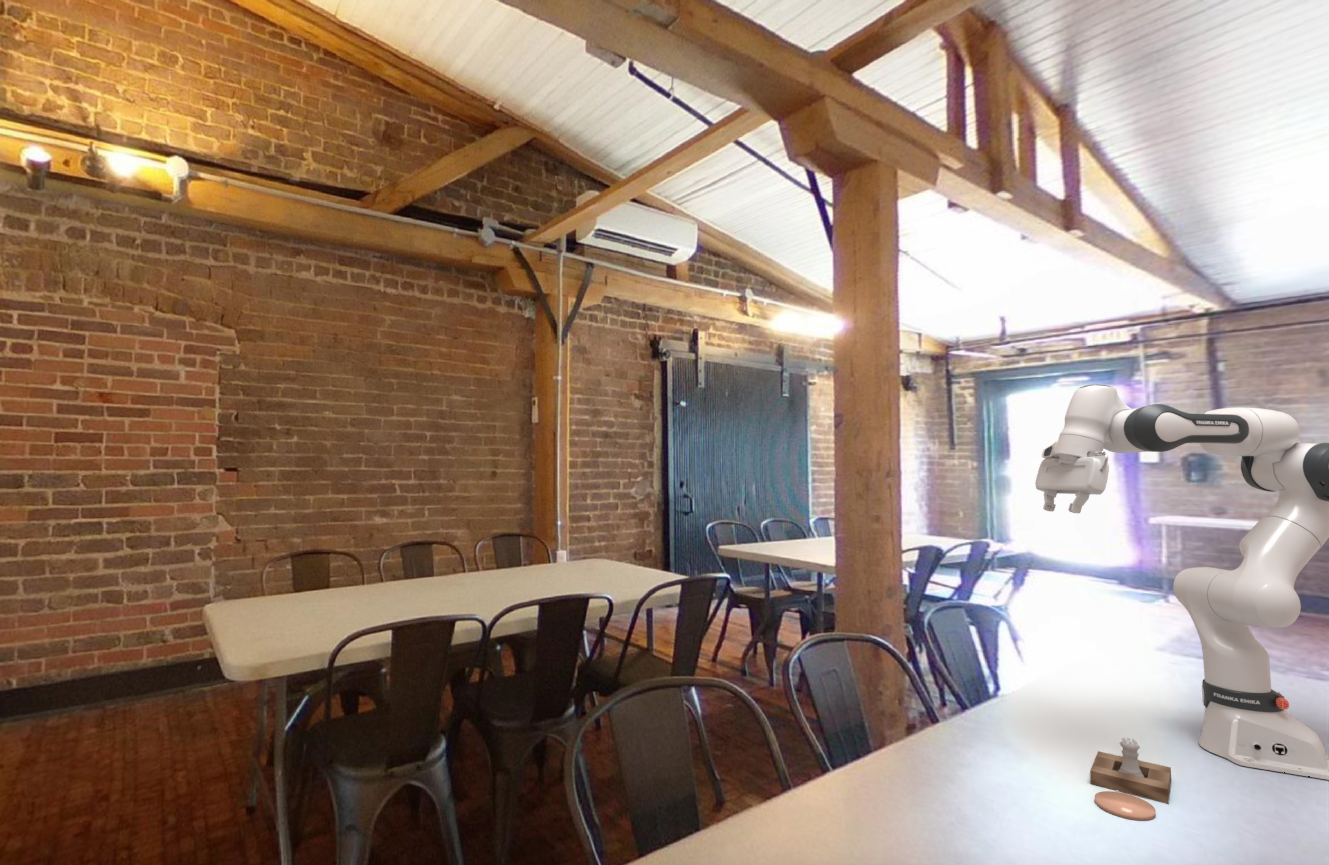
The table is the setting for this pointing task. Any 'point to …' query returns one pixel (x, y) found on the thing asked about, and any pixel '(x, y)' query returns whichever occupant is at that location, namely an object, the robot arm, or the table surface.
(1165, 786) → the socket block
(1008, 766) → the table surface
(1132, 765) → the rook chess piece
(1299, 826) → the table surface
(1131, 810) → the coaster
